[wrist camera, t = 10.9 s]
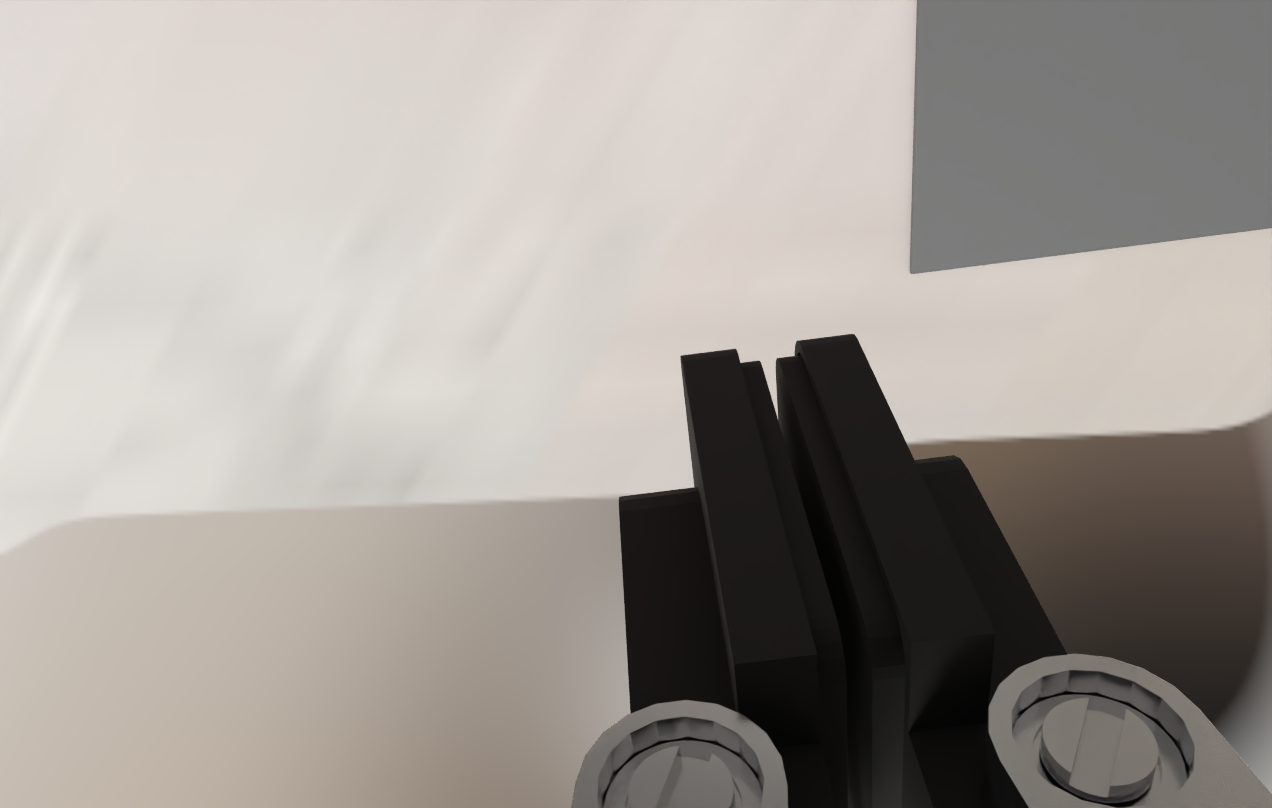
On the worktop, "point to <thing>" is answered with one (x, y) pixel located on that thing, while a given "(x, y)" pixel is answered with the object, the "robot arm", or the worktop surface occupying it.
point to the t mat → (1087, 126)
